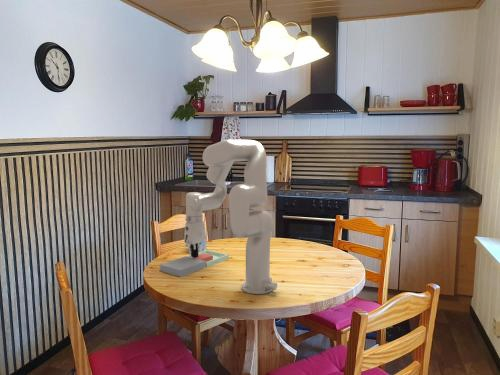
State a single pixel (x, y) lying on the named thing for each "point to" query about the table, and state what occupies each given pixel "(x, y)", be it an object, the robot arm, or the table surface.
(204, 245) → the light bulb box
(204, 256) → the salmon red thick block
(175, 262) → the grey flat slab
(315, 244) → the table surface
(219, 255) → the tray
